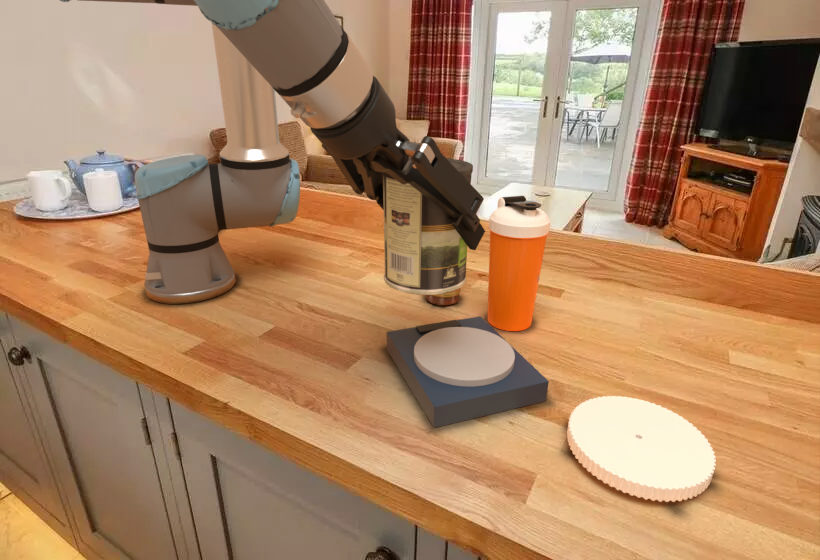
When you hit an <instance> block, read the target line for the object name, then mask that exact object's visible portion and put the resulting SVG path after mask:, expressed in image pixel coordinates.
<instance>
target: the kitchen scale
mask: <svg viewBox="0 0 820 560" xmlns="http://www.w3.org/2000/svg"><path fill="white" fill-rule="evenodd" d="M386 351H387V353H388V354H389V356H390V357H391V359H392V361H393V363H394V364H395V366H396V368H397V369H398V372H400V374H401V376H402V378H403V379H404V381H405V383H406V385H407V386H408V387H409V389H410V391H411V392H412V395H413V396H414V398H415V399H416V401H417V403H418V404H419V406H420V408H421V409H422V411H423V413H424V415H425V417H426V418H427V419H428V421H429V423H430V425H431V426H432V428H433V429H437V428H439V427H444V426H448V425H453V424H457V423H461V422H465V421H469V420H470V421H471V420H473V419H477V418H481V417H486V416H490V415H494V414H499V413H502V412H508V411H510V410H516V409H520V408H523V407H528V406H532V405H536V404H540V403H544V402H547V397H548V390H549V385H550V384H549V383H550V381H549V380H548V379H547V378H546V377H545V376H544V374H542V373H541V372H540V371H539V370H538V369H536V367H534V365H532V364H531V363H530V362H529V360H527V359H526V358H525V357H524V356H523V355H522V354H521V353H520V352H519V351H518V350H517V349H516V348H514V347H513V346H512V344H510V343H509V342H508V341H507V340H506V338H504V337H503V336H502V335H501V334H500V333H498V332H497V331H496V329H494V328H493V326H492V325H491V324H490V323H489V322H488V321H486V320H485V319H484V318H483V317H482V316H481V315H480V316H474V317H473V316H472V317H467V318H461V319H452V320H451V319H450V320H445V321H438V322H434V323H427V324H421V325H416V326H413V327H407V328H402V329H395V330H389V331H386Z"/></svg>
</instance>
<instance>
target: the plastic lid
mask: <svg viewBox="0 0 820 560" xmlns="http://www.w3.org/2000/svg"><path fill="white" fill-rule="evenodd" d="M570 413H571V414H570V415H569V418H568V425H567V429H566V439H567V442H568V446H569V449H570V451H572V452H571V453H572V455H574V458H575V459H576V460H578V461H577V462H578V463H579V464H581V466H582V468H585V469H586V471H587V472H588V473H591V475H592V476H593V477H594V476H595V477H596V479H597V480H599V481H602V483H603V484H607V485H608V486H609V487H611V488H615V490H617V491H621V492H622V493H623V494H629V496H631V497H632V496H633V497H634V496H635V497H636V498H637V499H638V498H640V499H641V498H643V500H647V501H648V499H649V500H651V501H652V502H655V501H658V502H661V503H662V502H663V501H664V502H665V503H670V501H671V502H673V503H675V502H676V501H678V502H682V501H683V500H684V501H687V500H688V499H690V500H691V499H693V498H694V497H696V498H697V497H698V495H701V494H702V493H703V492H705V491H706V489H708V487H709V486H710V484H711V482H712V479H713V476H714V474H715V470H716V466H717V464H716V463H717V460H716V455H715V454H716V453H715V451H714V447H712V444H711V443H710V442H709V440H708V438H706V435H704V434H703V433H702V431H701V430H698V427H696V426H694V424H693V423H692V422H689V420H688V419H686V418H684V416H681V415H679V414H678V413H677V412H673V410H671V409H668V408H667V407H665V406H664V407H663V406H662V405H660V404H656V403H655V402H650V401H649V400H644V399H639V398H638V397H637V398H636V397H634V398H633V397H632V396H629V397H627V396H625V395H623V396H621V395H617V396H616V395H612V396H611V395H607V396H605V395H602V396H597V397H593V398H588V399H586V400H585V401H581V403H579V404H578V405H576V406H575V408H574V409H572V411H571V412H570Z"/></svg>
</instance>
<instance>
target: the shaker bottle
mask: <svg viewBox="0 0 820 560" xmlns="http://www.w3.org/2000/svg"><path fill="white" fill-rule="evenodd" d="M541 207H542V204H541V203H540V202H537V201H533V200H528V198H527V197H526V196H525V195H511V196H501V197H498V200H497V208H496V209H494V210H493V212H492V213H491V214H490V215H489V220H488V221H489V222H488V230H489V258H488V288H487V289H488V291H487V323H488V324H489V325H490V326H491V327H494V328H495V329H498V330H501V331H507V332H520V331H524V330H527V329H529V328H530V327H531V326H532V322H533V317H534V310H535V305H536V299H537V294H538V288H539V282H540V276H541V272H542V271H541V270H542V265H543V259H544V254H545V248H546V242H547V237H548V235H549V234H550V226H551V219H550V218H549V216H548V214H547V213H546V212H545V211H544V210H542V209H540V208H541Z"/></svg>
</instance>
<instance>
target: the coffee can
mask: <svg viewBox="0 0 820 560" xmlns="http://www.w3.org/2000/svg"><path fill="white" fill-rule="evenodd" d="M445 158H446V159H447V160H448V161H449V162H450V163H451V164H452V165H453V166H454V167H455V168H456V169H457V170H458V171H459V172H460V173H461V175H462V176H463V177H464V178H465V179H466V180H467V181H468V182H469V183H470V184H471V185H472V174H473V173H474V172H473V171H474V165H473V164H472V163H471V162H468V161H466V160H462V159H458V158H457V159H456V158H447V157H445ZM411 161H412V159H411V157H409V159H408V162H407V164H406V165H405V167H404V169H403V170H402V171H401V172H402V173H403V174H404V173H405V171H406V170H407V168H408V166H409V165H410V163H411ZM383 201H384V210H383V252H384V253H383V256H384V259H383V260H384V262H383V263H384V269H383V270H384V273H383V281H384V283H385V284H386V285H387V286H388V287H389V288H391V289H393V290H395V291H397V292H401V293H404V294H410V295H417V296H426V295H438V294H445V293H449V292H453V291H455V290H457V289H459V288H461V289H462V287H463V286H464V285H465V284H466V282H467V261H468V259H467V258H468V246H467V244H466V243H465V242H464V240H463V239H462V238H461V236H460V235H459V233H458V232H457V231H456V229H455V228H454V227H453V225H452V224H450V221H449V220H448V218H449V216H450V215H449V214H448V213H447V212H445V211H444V210H443V209H442V208H440V207H439V206H438V205H436V204H435V203H434V202H432V201H431V200H430V199H428V198H427V197H426V196H424V195H423V194H422V193H420V192H419V191H418V190H417V189H415V188H414V187H413V186H411V185H410V184H405V185H403V184H401V183H400V182H398V181H397V180H396V179H394V178H393V177H392V176H390V175H389V174H388V173H386V172H383Z"/></svg>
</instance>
